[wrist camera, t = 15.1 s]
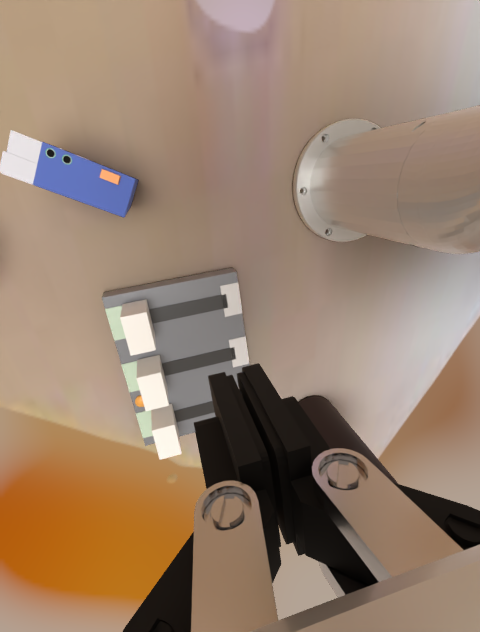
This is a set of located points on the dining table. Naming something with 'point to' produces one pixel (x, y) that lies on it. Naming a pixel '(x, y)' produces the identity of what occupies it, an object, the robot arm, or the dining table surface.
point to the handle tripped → (152, 383)
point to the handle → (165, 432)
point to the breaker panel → (184, 341)
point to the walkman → (67, 174)
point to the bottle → (338, 430)
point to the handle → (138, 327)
